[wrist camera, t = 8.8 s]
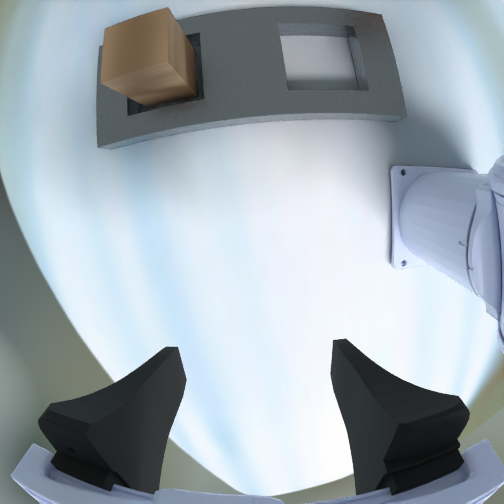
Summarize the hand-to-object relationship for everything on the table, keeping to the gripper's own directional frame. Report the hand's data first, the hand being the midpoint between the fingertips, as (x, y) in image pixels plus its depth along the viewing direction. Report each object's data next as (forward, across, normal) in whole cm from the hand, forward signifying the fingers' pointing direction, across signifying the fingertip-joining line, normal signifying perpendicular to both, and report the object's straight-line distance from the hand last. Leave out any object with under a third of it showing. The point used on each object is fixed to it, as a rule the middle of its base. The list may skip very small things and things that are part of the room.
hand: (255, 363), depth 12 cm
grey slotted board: (+9, 0, -17) cm, 19 cm away
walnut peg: (+9, +5, -17) cm, 20 cm away
